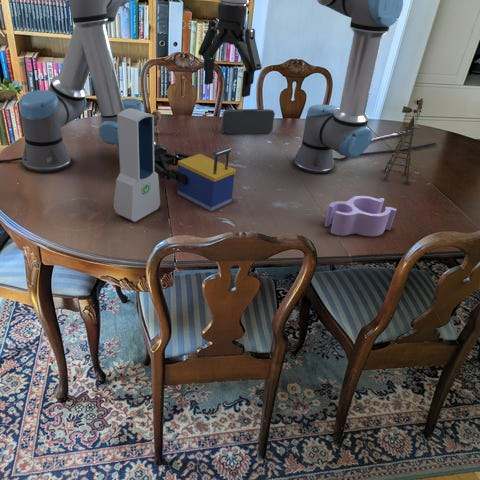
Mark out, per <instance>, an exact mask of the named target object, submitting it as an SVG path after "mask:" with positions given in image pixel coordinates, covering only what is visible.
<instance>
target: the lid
mask: <svg viewBox="0 0 480 480" xmlns="http://www.w3.org/2000/svg"><path fill="white" fill-rule="evenodd" d="M231 151H232V148H231V147H229V146H226V147H224V148H221V149H218V150H215V151H213V152H212V156H213V158H210V157H208V156H206V155H204V154H202V153H197V154H194V155H191V157H188V158H185V159H182V160H179V161H178V165H180V166H182V167H185V168H187V169H189V170H191V171H193V172H195V173H197V174H199V175H201V176H203V177H205V178H207V179H210V180H212V181H214V182H216V181H218V180H221V179H223V178H225V177H228V176H230V175H233V174H234V175H235V174H236V173H237V169H235V168H233V167H231V166H229V161H230V160H229V158H230V153H231ZM224 155H225V160H224V163H223V162H220V161H218V157H221V156H224ZM178 165H177V166H178Z"/></svg>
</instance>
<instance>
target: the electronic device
mask: <svg viewBox="0 0 480 480" xmlns="http://www.w3.org/2000/svg"><path fill="white" fill-rule="evenodd" d="M151 114H152V113H148V112H145V111H144V112H142V111H139V110H136V109H132V108H129V109H125V110H123V111H121V112H120V113H119V114H118V115H117V118H118V138H119V148H118V154H119V155H118V156H119V174H118V176H117V177H116V180H115V190H114V198H113V205H112V206H113V209H114V212H115V213H116V214H117V215H118V216H120V217H123V218H124V219H127V220H129V221H131V222H133V223H136V222H137V221H139V220H141V219H142V218H145V217H146V216H148V215H150V214H151V213H153V212H155V211H157V210H158V209H159V208H160V206H161V193H160V181H159V179H160V178H159V176H158V174H157V173H156V172H154V143H155V126H154V115H151Z"/></svg>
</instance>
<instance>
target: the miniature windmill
mask: <svg viewBox="0 0 480 480" xmlns="http://www.w3.org/2000/svg"><path fill="white" fill-rule="evenodd" d="M423 102H424V98H423V97H422V98H420V99H419V101H418V103H417V107H416V109H412V108H411V107H408V106H405V105H403V108H402V111H401V113H402V114H411V113H413V116H412V117H411V119H410V120H409V123H408V122H404V127H405V129H404V130H403V132H404V134H401V137H400V139H399V140H398V141H397V144H396V146H395V151H394V152H392V155H391V156H390V158H389V160H388V162H387V163H386V166H385V168H384V170H383V172H384V173H386V172H387V171H388V172H387V173H386V176H385V178H384V180H386V181H387V180H388V178H389V176H390V173H391V172H393V173H398V174H403V175H404V176H406V179H405V184H408V183H409V175H410V174H411V173H410V163H411V160H412V156H411V155H412V149H411V148H412V147H413V139H414V138H413V137H414V129H415V130H419V129H420V125H419V124H417V123H419V118H420V116H421V114H420V113H422V109H423V105H424V103H423ZM408 132H409V133H408ZM407 136H409V140H408V141H405V140H406V137H407ZM404 143H405V144H404ZM406 144H408V145H406ZM402 147H403V148H408V150H407V152H404V151H400V149H402ZM397 149H398V151H397ZM399 154H402V155H403V154H404V155H406V157H401V156H398V155H399ZM397 159H401V160H405V164H401V163H395V162H396V160H397ZM392 160H393V161H392ZM394 166H399V167H400V166H401V167H404V171H398V170H394V169H393V167H394ZM392 169H393V170H392Z"/></svg>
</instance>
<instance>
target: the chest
mask: <svg viewBox="0 0 480 480" xmlns="http://www.w3.org/2000/svg"><path fill="white" fill-rule="evenodd" d="M177 171H178V172H180V173H182V174H184V175H186V176H187V184H186V185H185V184H183V183H181V182H179V181H177V186H176V189H177V190H176V194H177V195H180V196H182V197H183V198H185V199H187V200H188V201H191V202H193V203H195V204H197V205H198V206H200V207H202V208H204V209H206V210H208V211H210V212H213V211H215V210H217V209H219V208H221V207H224V206H225V205H228V204H230V203H232V201H233V192H234V191H233V190H234V179H235V174H233V175H230V176H228V177H225V178H223V179H221V180H218V181H216V182H214V181H212V180H210V179H207V178H205V177H203V176H201V175H199V174H197V173H195V172H193V171H191V170H189V169H187V168H185V167H182V166H180V165H177Z"/></svg>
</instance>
